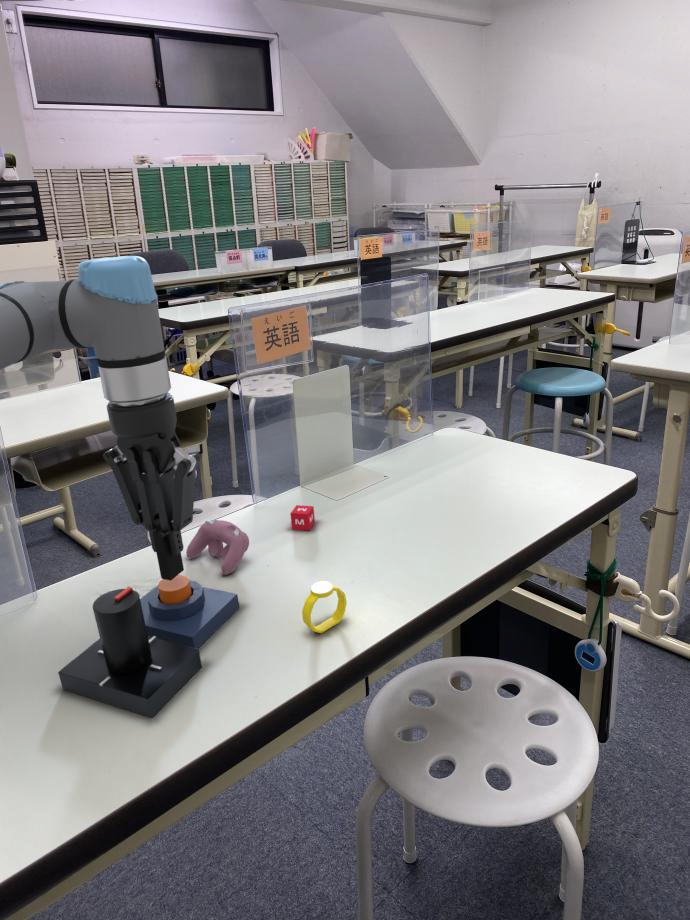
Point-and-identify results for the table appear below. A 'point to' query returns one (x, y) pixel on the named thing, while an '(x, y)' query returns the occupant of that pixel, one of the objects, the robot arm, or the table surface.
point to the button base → (188, 615)
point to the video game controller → (220, 543)
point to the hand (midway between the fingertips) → (172, 574)
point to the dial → (122, 630)
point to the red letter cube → (302, 517)
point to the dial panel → (133, 677)
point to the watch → (322, 591)
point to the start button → (174, 590)
